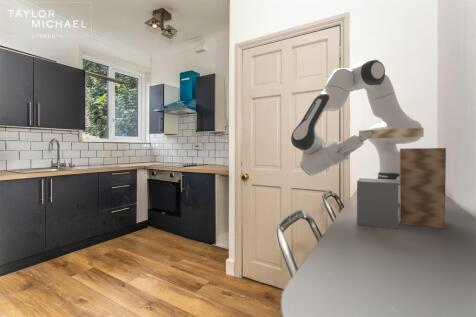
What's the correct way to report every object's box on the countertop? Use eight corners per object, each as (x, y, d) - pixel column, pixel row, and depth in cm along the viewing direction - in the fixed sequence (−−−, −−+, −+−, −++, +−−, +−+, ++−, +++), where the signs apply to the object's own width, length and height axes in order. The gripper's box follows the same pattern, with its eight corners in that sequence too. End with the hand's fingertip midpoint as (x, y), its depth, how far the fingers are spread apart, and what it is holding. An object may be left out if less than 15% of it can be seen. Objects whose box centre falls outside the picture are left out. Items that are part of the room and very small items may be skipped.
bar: (358, 138, 96) (358, 130, 95) (359, 138, 98) (359, 131, 98) (423, 136, 85) (423, 127, 85) (422, 136, 88) (422, 128, 88)
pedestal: (400, 223, 87) (401, 148, 86) (399, 216, 95) (399, 148, 94) (444, 228, 81) (445, 148, 80) (439, 220, 89) (440, 148, 88)
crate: (357, 224, 87) (357, 181, 86) (359, 217, 95) (359, 178, 95) (398, 229, 81) (398, 183, 80) (396, 221, 89) (397, 179, 89)
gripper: (329, 144, 93) (365, 123, 86) (338, 145, 110) (368, 127, 104) (338, 159, 91) (375, 139, 85) (345, 157, 109) (377, 140, 103)
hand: (371, 133), depth 95 cm, fingers closed on bar, 3 cm apart
